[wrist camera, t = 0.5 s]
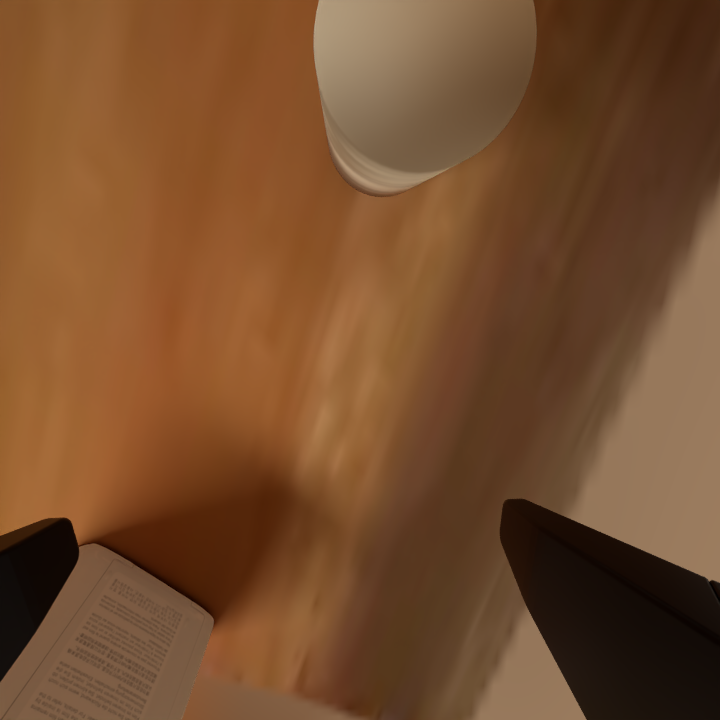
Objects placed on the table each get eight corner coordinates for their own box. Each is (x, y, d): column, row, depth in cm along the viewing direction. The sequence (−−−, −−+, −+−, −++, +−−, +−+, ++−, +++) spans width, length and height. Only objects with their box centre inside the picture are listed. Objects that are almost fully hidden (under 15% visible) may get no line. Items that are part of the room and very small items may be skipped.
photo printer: (50, 571, 25) (-200, 868, 14) (88, 528, 25) (-143, 805, 13) (188, 650, 28) (76, 959, 16) (227, 613, 27) (139, 911, 15)
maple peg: (309, 103, 18) (273, -28, 9) (415, 52, 18) (499, -145, 8) (354, 214, 20) (366, 205, 10) (452, 169, 19) (561, 116, 10)
